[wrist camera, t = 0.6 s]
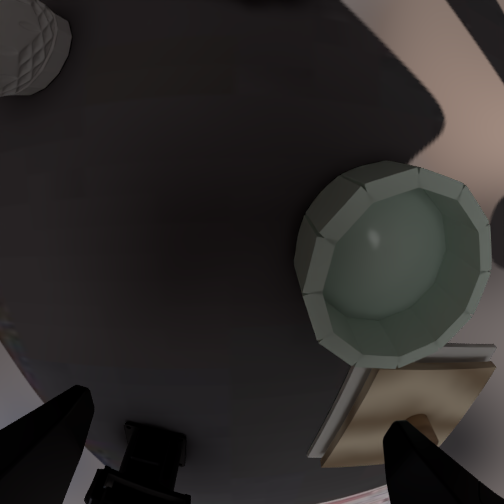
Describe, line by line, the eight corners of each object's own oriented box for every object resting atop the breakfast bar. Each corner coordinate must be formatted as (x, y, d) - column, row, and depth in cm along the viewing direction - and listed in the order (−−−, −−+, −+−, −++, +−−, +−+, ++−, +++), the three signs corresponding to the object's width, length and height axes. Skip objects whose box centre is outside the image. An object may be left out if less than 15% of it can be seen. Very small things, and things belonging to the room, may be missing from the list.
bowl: (419, 331, 22) (445, 368, 18) (278, 316, 22) (282, 360, 17) (468, 188, 18) (511, 203, 14) (317, 142, 18) (337, 143, 13)
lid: (424, 445, 28) (438, 476, 23) (319, 452, 27) (325, 492, 22) (486, 355, 23) (512, 387, 18) (372, 353, 22) (393, 398, 17)
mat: (425, 445, 29) (427, 448, 28) (306, 453, 28) (307, 457, 27) (493, 344, 23) (496, 347, 23) (363, 337, 23) (365, 342, 22)
